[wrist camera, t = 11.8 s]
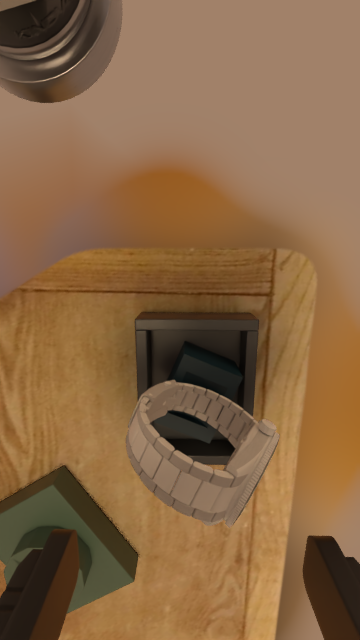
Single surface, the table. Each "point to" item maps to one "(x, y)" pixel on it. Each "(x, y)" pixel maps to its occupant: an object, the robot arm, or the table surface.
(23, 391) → the table surface
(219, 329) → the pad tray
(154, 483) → the watch
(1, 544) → the push button base
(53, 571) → the robot arm
